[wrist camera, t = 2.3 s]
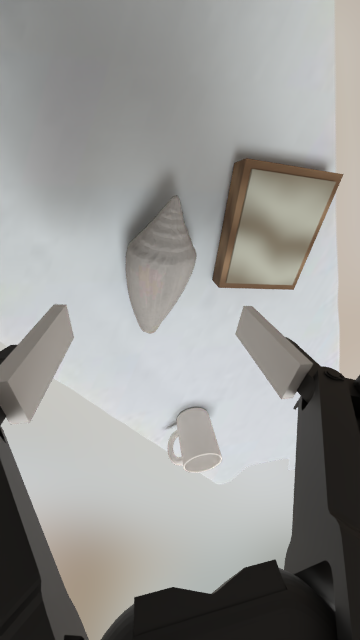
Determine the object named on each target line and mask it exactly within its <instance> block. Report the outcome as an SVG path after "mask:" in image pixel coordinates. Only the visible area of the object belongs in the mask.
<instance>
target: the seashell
mask: <svg viewBox="0 0 360 640" xmlns="http://www.w3.org/2000/svg"><path fill="white" fill-rule="evenodd" d="M195 261H196V251H195V249H194V247H193V245H192V242H191V238H190V237H189V235H188V231H187V228H186V226H185V222H184V219H183V212H182V210H181V204H180V199H179V197H178V196H174V197H172V198H171V200H170V201H169V202H168V203H167V204H166V205H165V206H164V208H163V209H162V210H161V211H160V212H159V214H158V215H157V216H156V217H155V218H154V220H153V221H152V222H150V223H149V224H148V226H147V227H146V228H145V229H144V230H143V231H141V232H140V233H139V235H138V236H137V237H135V238H134V239H133V240H132V241H131V242H130V243H129V245H128V248H127V252H126V279H127V286H128V293H129V298H130V301H131V305H132V308H133V311H134V314H135V316H136V319H137V322H138V324H139V326H140V327H141V329H142V330H143V332H147V333H150V334H151V333H154V332H155V331H156V330H157V329H158V327H159V325H160V324H161V322H162V321H163V320H164V318H165V317H166V316H167V314H168V313H169V312H170V311H171V309H172V308H173V306H174V305H175V304H176V302H177V300H178V299H179V297H180V296H181V294H182V292H183V291H184V289H185V286H186V285H187V283H188V281H189V278H190V276H191V274H192V271H193V269H194V266H195Z"/></svg>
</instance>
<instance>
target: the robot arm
mask: <svg viewBox="0 0 360 640" xmlns="http://www.w3.org/2000/svg"><path fill="white" fill-rule="evenodd" d="M236 336H237V337H238V338H239V340H240V341H241V343H242V344H243V346H244V347H245V348H246V350H247V351H248V353H249V354H250V355H251V357H252V358H253V360H254V361H255V363H256V364H257V365H258V367H259V368H260V370H261V371H262V372H263V374H264V375H265V377H266V378H267V380H268V381H269V382H270V384H271V385H272V387H273V388H274V389H275V391H276V392H277V394H278V395H279V397H280V398H281V399H289V398H293V397H294V395H295V393H296V392H298V393H299V394H300V395H301V397H300V398H299V400H298V401H297V403H296V405H295V406H294V408H293V409H295V410H296V408H297V407H298V423H297V443H296V464H295V484H294V505H293V525H292V537H291V542H290V544H289V547H288V550H287V553H286V558H285V566H284V570H283V569H280V568H278V565H277V562H276V560H272V561H268V562H264V563H261V564H257V565H253V566H249V567H246V568H244V569H242V570H241V571H240V572H238V573H237V574H235V575H234V576H233V577H231V578H230V579H229V580H228V581H226V582H225V583H224V584H222V585H221V586H220V587H219V588H218V589H217V590H215V591H214V592H213V593H212V594H208V593H202V592H197V591H191V590H186V589H180V588H175V587H172V588H168V589H164V590H160V591H157V592H153V593H149V594H145V595H142V596H138V597H135V598H134V604H133V605H132V606H131V607H129V608H128V609H127V610H126V611H124V612H123V613H122V614H121V615H120V616H119V617H118V618H117V619H116V620H115V622H114V623H113V624H112V625H111V627H110V628H109V629H108V630H107V632H106V633H105V634H104V636H103V637H102V639H101V640H360V375H359V376H358V378H357V379H356V380H353V379H348V378H345V377H344V376H343V375H342V374H341V373H339V372H338V371H336V370H334V369H332V368H329V367H321V366H320V365H319V364H318V363H317V362H315V361H314V360H313V359H312V358H311V357H310V356H309V355H308V354H307V353H306V352H304V351H303V350H302V349H301V348H300V347H299V346H298V345H297V344H296V343H295V342H293V341H292V340H290V339H288V338H287V337H284V336H283V335H282V334H281V333H280V332H279V331H278V330H277V329H276V328H275V327H274V326H273V325H272V324H270V323H269V322H268V321H267V320H266V319H265V318H264V317H263V316H262V315H261V314H260V313H259V312H258V311H257V310H256V309H255V308H253V307H252V306H243V310H242V313H241V317H240V320H239V324H238V327H237V330H236ZM73 338H74V335H73V331H72V327H71V323H70V318H69V314H68V310H67V306H66V305H53V306H52V307H51V308H50V309H49V311H48V312H47V313H46V314H45V315H44V316H43V317H42V318H41V320H40V321H39V322H38V323H37V324H36V325H35V326H34V327H33V329H32V330H31V331H30V332H29V333H28V334H27V335H26V336H25V338H24V339H23V340H22V341H21V342H20V343H19V344H18V345H10V346H8V347H7V348H5V349H4V350H2V351H0V425H1V423H2V422H3V420H4V419H5V418H7V420H8V421H9V423H10V424H11V425H12V424H22V423H29V422H30V421H31V419H32V417H33V415H34V414H35V412H36V410H37V407H38V406H39V404H40V402H41V400H42V398H43V396H44V394H45V392H46V391H47V389H48V387H49V384H50V383H51V381H52V379H53V377H54V375H55V373H56V371H57V369H58V367H59V365H60V364H61V362H62V360H63V358H64V356H65V354H66V352H67V350H68V348H69V346H70V344H71V342H72V340H73ZM0 640H89V639H88V637H87V634H86V632H85V629H84V627H83V624H82V622H81V619H80V617H79V615H78V613H77V611H76V608H75V606H74V605H73V603H72V601H71V599H70V598H69V596H68V594H67V591H66V589H65V587H64V584H63V581H62V579H61V577H60V574H59V571H58V569H57V566H56V564H55V561H54V558H53V556H52V553H51V551H50V548H49V546H48V543H47V541H46V538H45V536H44V533H43V531H42V528H41V525H40V523H39V521H38V518H37V515H36V513H35V510H34V508H33V505H32V503H31V500H30V498H29V495H28V493H27V490H26V487H25V485H24V482H23V480H22V477H21V475H20V472H19V469H18V467H17V465H16V462H15V459H14V457H13V454H12V452H11V449H10V447H9V444H8V441H7V439H6V436H5V434H4V431H3V429H2V428H1V426H0Z"/></svg>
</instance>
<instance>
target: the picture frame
mask: <svg viewBox="0 0 360 640" xmlns="http://www.w3.org/2000/svg"><path fill="white" fill-rule="evenodd" d="M342 176H343V174H338V173H332V172H326V171H320V170H314V169H308V168H302V167H296V166H290V165H284V164H278V163H272V162H266V161H260V160H254V159H248V158H246V159H243V160H241V161H238V162H236V163H234V168H233V174H232V179H231V184H230V189H229V195H228V200H227V205H226V210H225V216H224V221H223V226H222V232H221V237H220V242H219V247H218V253H217V258H216V263H215V269H214V274H213V279H212V280H213V281H214V283H215V284H216V285H217V286H218V287H219V288H253V289H290V290H294V287H295V285H296V283H297V280H298V278H299V276H300V274H301V271H302V269H303V267H304V264H305V262H306V260H307V257H308V255H309V253H310V250H311V248H312V246H313V243H314V241H315V239H316V237H317V234H318V232H319V230H320V227H321V225H322V223H323V220H324V218H325V216H326V213H327V211H328V209H329V206H330V204H331V202H332V200H333V197H334V195H335V193H336V190H337V188H338V186H339V183H340V181H341V178H342Z"/></svg>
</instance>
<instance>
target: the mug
mask: <svg viewBox="0 0 360 640" xmlns="http://www.w3.org/2000/svg"><path fill="white" fill-rule="evenodd" d="M177 428H178V430H176V431H175V432H174V433H173V434H172V435H171V436H170V439H169V441H168V455H169V458H170V460H171V461H172V462H173V463H174V464H176V465H183V468H184V469H185V471H187V472H193V473H196V472H203V471H207V470H209V469H212V468H214V467H216V466H217V465H218V464H219V463H220V462H221V461H222V456H221V453H220V450H219V446H218V443H217V440H216V437H215V433H214V430H213V427H212V423H211V420H210V417H209V414H208V412H207V411H206V410H204V409H202V408H190V409H187V410H185V411H183V412H182V413H181V414H180V415H179V416H178V418H177ZM178 436H179V442H180V448H181V455H182V457H176V456H175V454H174V452H173V444H174V441H175V439H176V438H177V437H178Z"/></svg>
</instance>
